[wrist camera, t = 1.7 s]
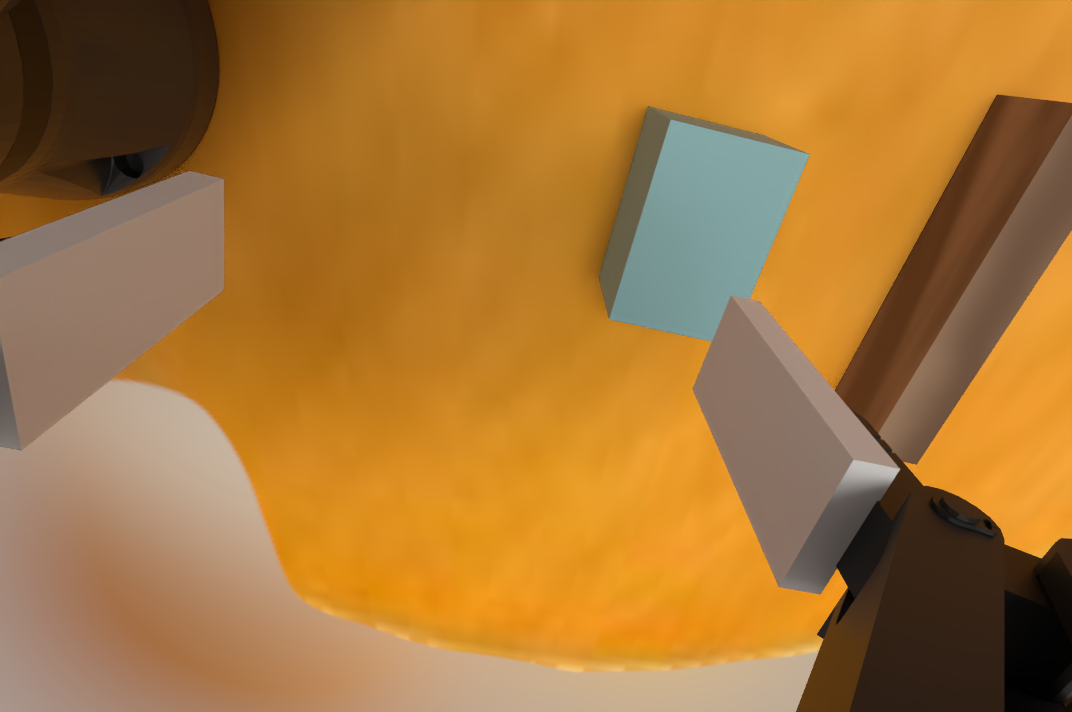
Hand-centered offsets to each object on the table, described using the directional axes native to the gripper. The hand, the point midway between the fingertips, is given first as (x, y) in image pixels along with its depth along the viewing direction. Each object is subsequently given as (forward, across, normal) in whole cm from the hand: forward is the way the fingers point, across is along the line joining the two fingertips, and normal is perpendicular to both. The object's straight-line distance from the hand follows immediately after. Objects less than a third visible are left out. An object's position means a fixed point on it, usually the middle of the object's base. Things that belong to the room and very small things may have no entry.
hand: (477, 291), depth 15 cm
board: (+18, +24, -1) cm, 30 cm away
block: (+18, +9, 0) cm, 20 cm away
